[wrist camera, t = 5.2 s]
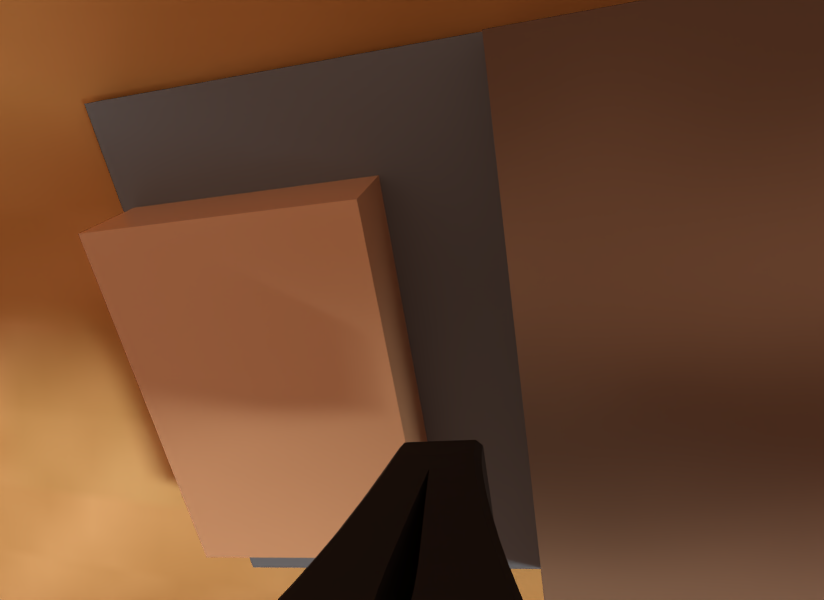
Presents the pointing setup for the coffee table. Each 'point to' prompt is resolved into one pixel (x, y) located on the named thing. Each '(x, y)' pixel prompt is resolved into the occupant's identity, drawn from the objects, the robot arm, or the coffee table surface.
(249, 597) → the coffee table surface
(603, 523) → the brown flat block
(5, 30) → the coffee table surface
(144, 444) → the coffee table surface
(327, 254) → the tan rectangular brick
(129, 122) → the mat
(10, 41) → the coffee table surface
